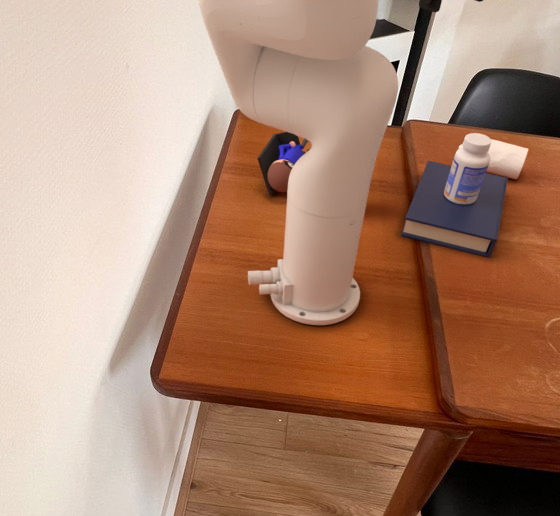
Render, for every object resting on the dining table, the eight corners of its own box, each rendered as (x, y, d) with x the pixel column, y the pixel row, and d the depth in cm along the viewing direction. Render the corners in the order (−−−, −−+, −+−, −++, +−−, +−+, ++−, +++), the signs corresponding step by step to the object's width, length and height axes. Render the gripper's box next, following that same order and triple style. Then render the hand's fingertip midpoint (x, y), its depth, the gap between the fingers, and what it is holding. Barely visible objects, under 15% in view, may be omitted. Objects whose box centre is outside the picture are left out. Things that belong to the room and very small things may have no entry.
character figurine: (313, 167, 99) (289, 208, 90) (276, 156, 100) (249, 197, 90) (320, 126, 93) (295, 166, 83) (281, 115, 94) (252, 153, 84)
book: (489, 258, 82) (497, 239, 80) (400, 235, 85) (405, 217, 83) (501, 195, 95) (508, 177, 92) (423, 178, 98) (428, 160, 95)
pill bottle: (482, 198, 87) (504, 140, 80) (464, 209, 85) (484, 150, 77) (455, 184, 90) (473, 127, 82) (436, 195, 87) (453, 137, 80)
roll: (456, 156, 104) (465, 127, 100) (518, 170, 101) (530, 142, 97) (450, 169, 100) (459, 140, 96) (515, 185, 97) (527, 156, 93)
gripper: (511, -177, 65) (468, -11, 78) (420, -178, 58) (388, 6, 71) (565, -171, 62) (510, 2, 75) (476, -171, 54) (432, 22, 67)
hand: (451, 4), depth 73 cm, fingers open, 9 cm apart
